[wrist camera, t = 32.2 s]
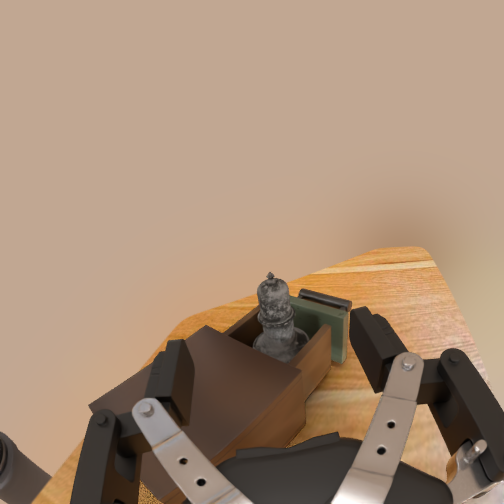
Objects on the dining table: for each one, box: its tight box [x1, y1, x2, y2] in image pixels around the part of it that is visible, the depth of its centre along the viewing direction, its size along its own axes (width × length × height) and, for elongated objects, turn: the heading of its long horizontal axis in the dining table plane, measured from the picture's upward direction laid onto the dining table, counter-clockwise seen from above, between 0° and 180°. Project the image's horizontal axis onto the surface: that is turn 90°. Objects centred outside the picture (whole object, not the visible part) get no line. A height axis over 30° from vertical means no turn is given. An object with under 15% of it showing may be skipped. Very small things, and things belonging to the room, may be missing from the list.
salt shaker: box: [253, 272, 309, 364], centre depth 27 cm, size 6×6×12 cm
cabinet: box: [88, 325, 306, 504], centre depth 22 cm, size 15×12×9 cm
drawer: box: [223, 289, 352, 401], centre depth 30 cm, size 18×10×7 cm, turn 138°
